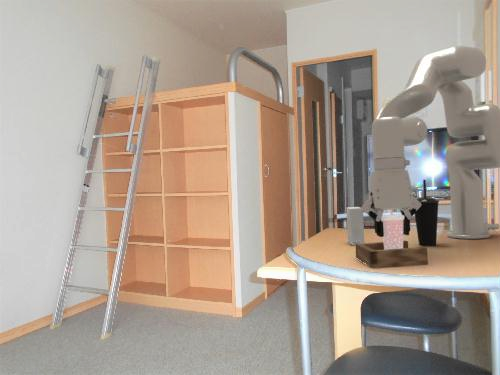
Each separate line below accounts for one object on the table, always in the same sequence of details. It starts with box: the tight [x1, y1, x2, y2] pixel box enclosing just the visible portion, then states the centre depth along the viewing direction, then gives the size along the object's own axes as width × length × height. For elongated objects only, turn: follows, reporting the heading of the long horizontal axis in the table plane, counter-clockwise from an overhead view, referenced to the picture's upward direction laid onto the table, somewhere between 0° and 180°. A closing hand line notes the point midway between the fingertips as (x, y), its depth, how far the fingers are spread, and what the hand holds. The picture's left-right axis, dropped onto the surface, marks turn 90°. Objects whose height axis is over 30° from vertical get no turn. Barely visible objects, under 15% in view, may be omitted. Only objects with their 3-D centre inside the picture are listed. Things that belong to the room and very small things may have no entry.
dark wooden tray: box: [354, 240, 429, 269], centre depth 102 cm, size 14×12×4 cm
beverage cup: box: [381, 210, 404, 250], centre depth 101 cm, size 6×6×14 cm
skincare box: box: [345, 206, 366, 246], centre depth 129 cm, size 6×4×12 cm
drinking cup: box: [414, 179, 440, 247], centre depth 120 cm, size 8×8×20 cm
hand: (392, 234), depth 102 cm, fingers closed on beverage cup, 6 cm apart
